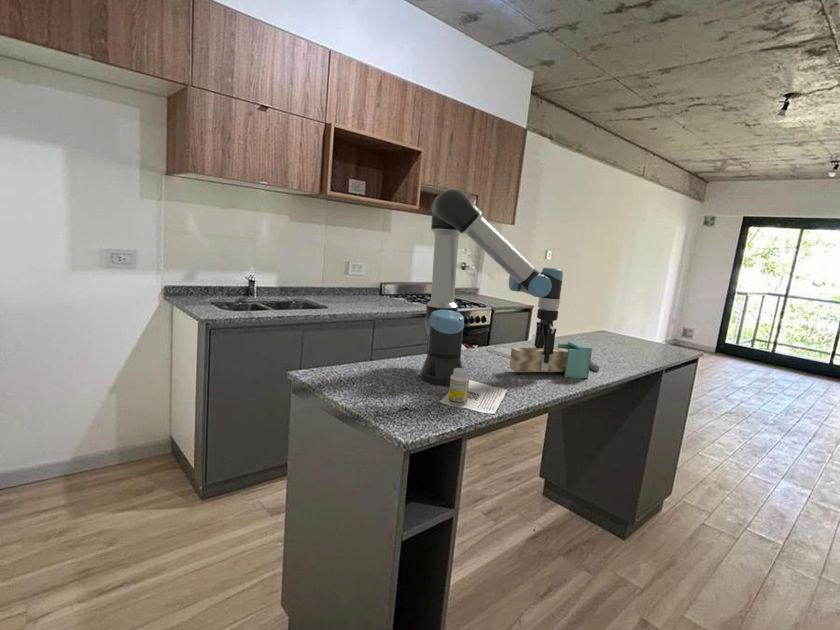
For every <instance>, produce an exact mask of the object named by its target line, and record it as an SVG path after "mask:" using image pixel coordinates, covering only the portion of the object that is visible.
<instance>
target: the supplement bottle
mask: <svg viewBox="0 0 840 630" xmlns="http://www.w3.org/2000/svg"><path fill="white" fill-rule="evenodd" d="M469 380H470V377H469V376H468V370H467V369H466V368H455V369H454V372H453V374H452V375H451V377H450V385H449V388H448V389H449V390H448V402H449V403H450V404H452V405H454V404H455V405H456V406H464V405H466V404H467V402H468V394H469V386H470V385H469V384H470V383H469V382H470V381H469Z"/></svg>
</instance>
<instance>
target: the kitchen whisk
mask: <svg viewBox="0 0 840 630" xmlns="http://www.w3.org/2000/svg"><path fill="white" fill-rule="evenodd" d="M589 369H590V370H592V371H593V370H594V372H596V371H597V372H600V366H598V365H597V364H596V363H595V362H594V361H592V360H590V367H589Z"/></svg>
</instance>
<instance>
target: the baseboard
mask: <svg viewBox="0 0 840 630" xmlns="http://www.w3.org/2000/svg"><path fill="white" fill-rule="evenodd" d="M498 347H499V348H498ZM498 347H497V345H494V347H493V348H491V346H490V347H489V348H488V349H487V348H486V351H491V352H495V353H496V354H495V355H497V354H499V355H498V356H501V355H502V356H501V357H504V356H505V357H504V358H507V357H508V358H507V359H510V358H511V349H510V348H506V347H504V345H502V347H501V346H498ZM491 352H490V353H491Z"/></svg>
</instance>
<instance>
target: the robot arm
mask: <svg viewBox="0 0 840 630" xmlns="http://www.w3.org/2000/svg"><path fill="white" fill-rule="evenodd" d="M433 199H434V200H433V201H432V202H431V206H430V214H431V229H430V230H431V231H432V232H433V234H434V245H433V247H434V248H433V259H432V260H433V261H432V279H431V281H432V282H431V293H430V300H429V301H428V302H427V303H426V309H425V316H424V320H423V326H424V330H425V332H426V334H427V336H428V339H427V340H428V341H427V352H426V353H427V354H426V357H425V359H424V362H423V365H422V367H421V370H420V379H421V380H423V381H425V382H427V383H430V384H434V385H439V386H450V377H451V375H452V374H453V372H454V369H455V368H463V365H462V358H461V357H462V347H463V336H464V327H465V317H464V316H463V315H462V314H461V313H460V312H458V310H459V307H458V304H457V303H456V301H455V295H456V294H455V292H456V282H457V281H456V280H457V278H456V277H457V267H458V266H457V263H458V250H459V239H460V238H459V237H460V235H462V234H466V235H467V236H468V237H469V238H470V239H471V240H472V241H474V243H476V245H477V246H479V248H480V249H482V250H483V251H484V252H485V253H486V254H487V255H488V256H489V257H490V258H491V259H493V261H495V263H497V264H498V265H499V266H500V267H501V268H502V269H503V270H504V271H505V272H506V273H507V274H509V276H508V288H509V290H510V291H511V292H517V293H519V292H521V293H525V294H528V295H530V296H532V297H534V298H538V302H537V307H538V309H537V312H536V317H537V319H538V320H540V321H536V330H535V338H534V348H544V353H542V360H541V369H540V370H541V371H548V366H549V358H550V355H551V354H553V350H554V347H555V339H556V333H557V328H555V327H554V321H557V320H558V318H559V311H558V310H559V307H560V304H561V301H560V300H561V292H562V284H563V277H564V276H563V273H564V272H563V270H562V269H561V268H557V267H556V268H555V267H543V268H542V270H541V272H540V271H538V269H537V268H535V266H534V265H533V264H532V263H530V262H529V261H528V260H527V259H526V258H525V257H524V255H522V254H521V253H520V252H519V251H518V250H517V249H516V248H515V247H514V246H513V245H512V244H511V243H510V241H508V240H506V238H504V236H503V235H502V234H500V232H499V231H498V230H497V229H496V228H494V227H493V226H492V225H491V223H489V222H488V221H487V220H486V218H484V216H483V212H482V210H480V208H479V207H478V206H477V205H475V203H474V202H472V200H471V199H470V198H469V197H468V196H467V195H466V194H465V193H464V192H462V191H461V190H458V189H455V188H454V189H452V188H451V189H446V190H445V191H442V193H440V194H438V195H437V196H436V197H435V198H433ZM463 369H464V368H463Z"/></svg>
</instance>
